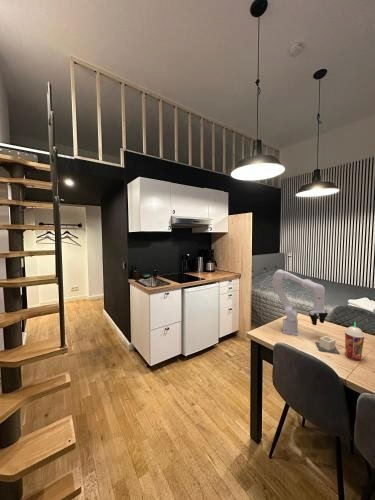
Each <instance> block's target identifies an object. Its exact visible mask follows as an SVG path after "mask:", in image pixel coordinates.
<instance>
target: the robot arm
mask: <svg viewBox="0 0 375 500" xmlns="http://www.w3.org/2000/svg"><path fill="white" fill-rule="evenodd" d="M282 280H291V281H293V282H296V283H298V284H300V285H301V287H303V288H305V289H307V290H309V291H311V292H314V295H313V308H312V310H310V311H309V313H308V316H309V317H310V320H311V324H312V325H313V326H317V323H318V319H319V323H320V324H324V322H325V319H326V317H327V316H328V314H329V313H328V308H326V307H325V293H326V288H325V287H324V286H323V285H322V284H321V283H318V282H314V281H312V280H311V279H310V278H308V279H307V278H306V279H303V278H301V277H299V276H297V275H295V274H293V273H291V272H289V271H287V270H283V269H277V270H276V271H275V272H274V273H273V275H272V283H271V284H272V288H273V289H274V291H275V293H276V294H277V297H278V299H279V301H280V302H281V304H282V306H283V308H284V312H285V314H286V318H282V325H281V326H282V327H281V328H282V332H283V334H286V335H291V336H292V335H293V336H299V335H300V334H299V332H298V331H299V330H298V328H299V327H298V326H299V325H298V324H299V319H298V314H299V313H298V311H297V309H296V308H295V307H294V306H293V305H292V304H291V302H290V300H289V298H288V296H287V294H286V293H285V290H284V289H283V287H282V285H281V283H282ZM317 314H318V315H317Z"/></svg>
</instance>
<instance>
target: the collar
mask: <svg viewBox="0 0 375 500" xmlns="http://www.w3.org/2000/svg"><path fill="white" fill-rule="evenodd" d="M327 340H328V341H327ZM319 342H320V343H319V346H320V347H323V348H325V349H327V350H332V349H334V348H335V347H336V340H335V339H334V338H332V337H330V336H326V335H324V336H322V337H319Z"/></svg>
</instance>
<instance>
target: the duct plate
mask: <svg viewBox="0 0 375 500" xmlns="http://www.w3.org/2000/svg"><path fill="white" fill-rule="evenodd" d="M327 341H328V340H327ZM314 343H315V346H316V347H317V350H318V351H319V352H321V353H322V352H323V353H330V354H334V355H340V351H339V350H338V349H337V347H336V346H335V348H334V349H332V350H327V349H325V348H323V347H320V346H319V343H320V341H314Z"/></svg>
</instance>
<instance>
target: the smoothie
mask: <svg viewBox="0 0 375 500" xmlns="http://www.w3.org/2000/svg"><path fill="white" fill-rule="evenodd" d="M353 323H354V324H353V326H348V327H347V328H346V329H345V330H344V338H345V339H344V343H345V344H344V345H345V350H344V351H345V355H346V357H347V358H349V359H350V360H353V361H360V360H361V359H362V355H363V347H364V341H365V334H364V332H363V330H361V328H359V327H358V326H357V323H356V321H354V322H353Z"/></svg>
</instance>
